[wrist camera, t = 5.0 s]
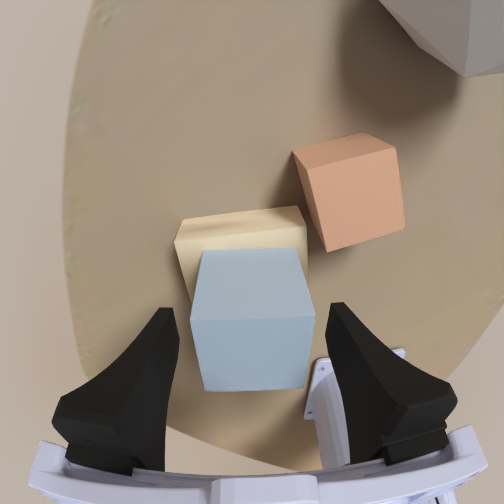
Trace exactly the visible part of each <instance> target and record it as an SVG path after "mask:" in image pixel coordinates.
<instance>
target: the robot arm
mask: <svg viewBox="0 0 504 504" xmlns="http://www.w3.org/2000/svg"><path fill="white" fill-rule="evenodd" d="M325 337H326V343H327V349H328V354H329V358H320V359H318V360H317V361H316V362H315V366H314V371H313V376H312V380H311V385H310V389H309V394H308V398H307V403H306V407H305V411H304V419H306V420H309V419H314V422H315V427H316V433H317V439H318V445H319V451H320V457H321V463H322V466H323V469H322V470H315V471H306V472H297V473H286V474H272V475H249V476H220V475H219V476H217V475H193V474H181V473H170V472H165V431H166V418H167V407H168V400H169V395H170V390H171V386H172V381H173V377H174V373H175V368H176V364H177V359H178V351H179V340H180V339H179V334H178V330H177V326H176V321H175V317H174V312H173V308H161V307H160V308H159V309H158V310H157V311H156V313H155V314H154V315H153V317H152V318H151V319H150V321H149V322H148V323H147V325H146V326H145V327H144V329H143V330H142V331H141V332H140V334H139V335H138V336H137V337H136V339H135V340H134V341H133V342H132V343H131V344H130V345H129V347H128V348H127V349H126V350H125V351H124V352H123V353H122V354H121V355H120V356H119V357H118V358H117V359H116V360H115V361H114V362H113V363H112V364H111V365H109V366H108V367H107V368H106V369H105V370H103V371H102V372H101V373H99V374H98V375H97V376H96V377H94V378H93V379H91V380H90V381H88V382H87V383H85V384H84V385H82V386H81V387H79V388H77V389H75V390H74V391H72V392H70V393H68V394H66V395H64V396H62V397H61V398H60V400H59V403H58V405H57V407H56V410H55V413H54V416H53V419H52V424H53V427H54V428H55V429H56V430H57V431H58V433H59V434H60V435H61V436H62V437H63V438H64V439H65V440H66V441H67V442H68V443H69V444H68V447H67V449H66V448H65V447H63V446H60V445H57V444H54V443H51V442H47V441H44V440H41V441H40V444H39V447H38V450H37V453H36V457H35V459H34V463H33V466H32V469H31V472H30V476H29V479H28V485H29V486H31V487H32V488H34V489H35V490H37V491H38V492H40V493H41V494H43V495H45V496H46V497H48V498H50V499H51V500H53V501H55V502H57V503H59V504H458V502H457V498H456V495H455V491H454V489H456V488H458V487H460V486H462V485H463V484H465V483H466V482H467V481H469V480H470V479H472V478H473V477H475V476H476V475H477V474H479V473H480V472H481V471H483V470H484V469H485V468H486V467H487V466H488V464H487V461H486V458H485V456H484V453H483V451H482V448H481V446H480V444H479V441H478V439H477V437H476V434H475V432H474V430H473V427H472V425H470V424H469V425H467V426H464V427H461V428H459V429H456V430H454V431H451V432H450V433H448V434H446V432H445V429H446V428H447V425H446V422H445V419H446V418H447V417H448V416H449V414H450V413H451V412H452V411H453V409H454V408H455V407H456V405H457V401H458V400H457V397H456V395H455V393H454V391H453V389H452V387H451V385H450V383H448V382H446V381H443V380H441V379H438V378H436V377H434V376H432V375H430V374H428V373H426V372H424V371H422V370H420V369H418V368H417V367H415V366H413V365H412V364H410V363H409V362H407V361H405V360H404V359H403V358H404V356H405V351H404V349H394V350H390V349H389V348H388V347H387V346H386V345H384V344H383V343H382V342H381V341H380V340H379V339H378V338H377V337H376V336H375V335H374V334H373V333H372V332H371V331H370V330H369V329H368V328H367V327H366V326H365V325H364V324H363V323H362V322H361V321H360V320H359V319H358V318H357V317H356V315H355V314H354V313H353V312H352V311H351V310H350V309H349V308H348V306H347V305H346V304H345V303H344V302H339V303H331V306H330V311H329V317H328V322H327V327H326V332H325Z"/></svg>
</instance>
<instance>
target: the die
mask: <svg viewBox="0 0 504 504" xmlns="http://www.w3.org/2000/svg"><path fill="white" fill-rule="evenodd" d="M379 1H380V2H381V3H382V4H383V6H384V7H385V8H386V9H387V10H388V11H389V12H390V13H391V14H392V16H393V17H394V18H395V19H396V20H397V21H398V22H399V24H400V25H401V26H402V27H403V28H404V30H405V31H406V32H407V33H408V35H409V36H410V37H411V38H412V40H413V41H414V42H415V43H416V45H417V46H418V47H419V48H421V49H422V50H424V51H425V52H427V53H429V54H430V55H432V56H433V57H435V58H436V59H438V60H439V61H441V62H442V63H444V64H445V65H447V66H448V67H450V68H451V69H452V70H454V71H455V72H457V73H458V74H459V75H461V76H462V77H463V78H467V77H474V76H481V75H489V74H497V73H503V72H504V0H379Z"/></svg>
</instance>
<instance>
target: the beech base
mask: <svg viewBox="0 0 504 504" xmlns="http://www.w3.org/2000/svg"><path fill="white" fill-rule="evenodd" d="M174 244H175V248H176V251H177V255H178V259H179V262H180V266H181V270H182V273H183V277H184V280H185V284H186V287H187V291H188V294H189V298H190V301H191V304H192V305H193V300H194V295H195V290H196V284H197V279H198V274H199V269H200V264H201V259H202V254H203V251H204V250H234V249H264V248H294V247H296V250H297V253H298V257H299V260H300V263H301V267H302V270H303V273H304V277H305V280H306V284H307V287H308V252H307V226H306V224H305V221H304V219H303V217H302V214H301V212H300V210H299V207H298V205H296V206H287V207H278V208H269V209H261V210H252V211H244V212H236V213H228V214H221V215H213V216H206V217H198V218H191V219H184V220H183V221H182V223H181V226H180V228H179V231H178V233H177V236H176V238H175V241H174Z"/></svg>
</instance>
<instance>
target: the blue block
mask: <svg viewBox="0 0 504 504" xmlns="http://www.w3.org/2000/svg"><path fill="white" fill-rule="evenodd" d="M315 317H316V315H315V311H314V308H313V304H312V301H311V297H310V294H309V290H308V287H307V284H306V280H305V277H304V273H303V270H302V267H301V263H300V260H299V257H298V253H297V250H296V247H294V248H264V249H234V250H204V251H203V254H202V259H201V264H200V269H199V274H198V279H197V284H196V290H195V295H194V300H193V305H192V311H191V316H190V324H191V329H192V334H193V339H194V343H195V348H196V353H197V357H198V362H199V366H200V371H201V375H202V380H203V384H204V388H205V391H259V390H278V389H293V388H304V386H305V380H306V375H307V369H308V363H309V357H310V351H311V344H312V338H313V331H314V324H315Z"/></svg>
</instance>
